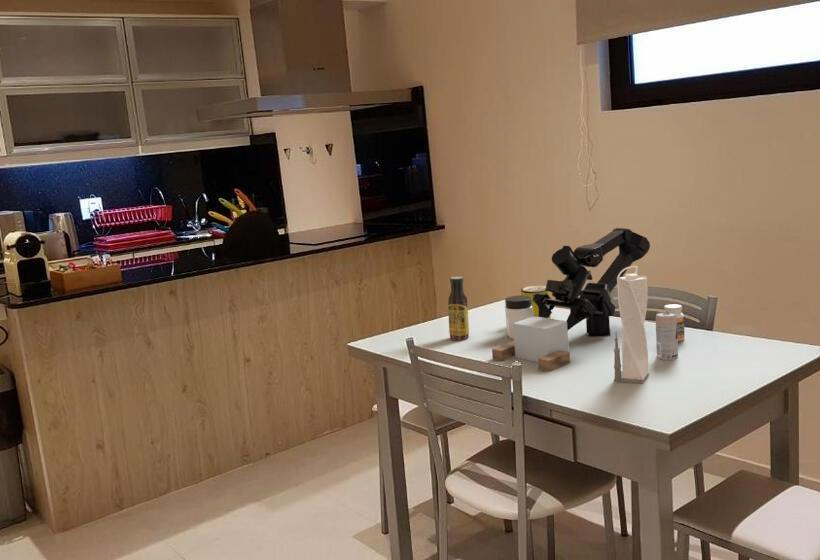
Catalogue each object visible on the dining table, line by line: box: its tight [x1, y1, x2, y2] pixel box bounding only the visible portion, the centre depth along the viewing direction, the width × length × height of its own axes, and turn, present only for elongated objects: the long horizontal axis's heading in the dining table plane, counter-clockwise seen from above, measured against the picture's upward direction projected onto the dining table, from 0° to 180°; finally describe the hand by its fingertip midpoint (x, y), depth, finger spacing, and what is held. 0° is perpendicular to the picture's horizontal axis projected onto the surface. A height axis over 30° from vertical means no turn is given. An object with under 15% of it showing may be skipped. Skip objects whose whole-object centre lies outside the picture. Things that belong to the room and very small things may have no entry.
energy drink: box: [655, 311, 679, 361], centre depth 202 cm, size 5×5×12 cm
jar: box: [504, 294, 533, 340], centre depth 236 cm, size 9×8×12 cm
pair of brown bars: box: [491, 340, 571, 373], centre depth 211 cm, size 9×20×3 cm, turn 40°
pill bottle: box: [663, 303, 685, 342], centre depth 217 cm, size 6×6×10 cm
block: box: [513, 316, 570, 363], centre depth 213 cm, size 9×12×10 cm
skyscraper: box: [613, 265, 650, 385], centre depth 188 cm, size 8×8×28 cm
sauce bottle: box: [447, 276, 470, 341], centre depth 239 cm, size 7×6×20 cm
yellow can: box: [520, 285, 552, 319], centre depth 248 cm, size 9×9×12 cm
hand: (551, 329), depth 216 cm, fingers open, 9 cm apart
